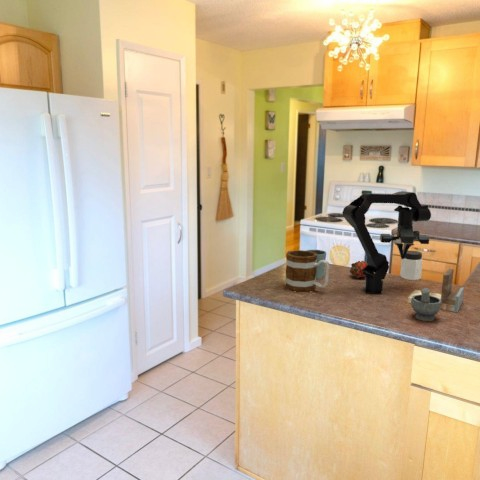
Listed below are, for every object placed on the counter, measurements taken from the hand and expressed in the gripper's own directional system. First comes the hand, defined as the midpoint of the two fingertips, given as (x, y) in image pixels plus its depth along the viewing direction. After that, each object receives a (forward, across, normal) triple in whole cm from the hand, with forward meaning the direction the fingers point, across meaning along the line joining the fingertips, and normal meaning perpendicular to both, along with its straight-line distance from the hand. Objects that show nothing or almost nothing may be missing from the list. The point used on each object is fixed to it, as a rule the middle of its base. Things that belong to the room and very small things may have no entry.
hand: (402, 258), depth 181 cm
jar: (+13, +8, +18) cm, 24 cm away
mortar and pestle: (+13, +2, -34) cm, 36 cm away
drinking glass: (+13, -36, +11) cm, 40 cm away
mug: (+13, -39, -8) cm, 42 cm away
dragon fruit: (+13, -15, +15) cm, 25 cm away
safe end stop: (+13, +17, -20) cm, 29 cm away
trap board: (+13, +10, -16) cm, 23 cm away
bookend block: (+11, +15, -18) cm, 26 cm away
